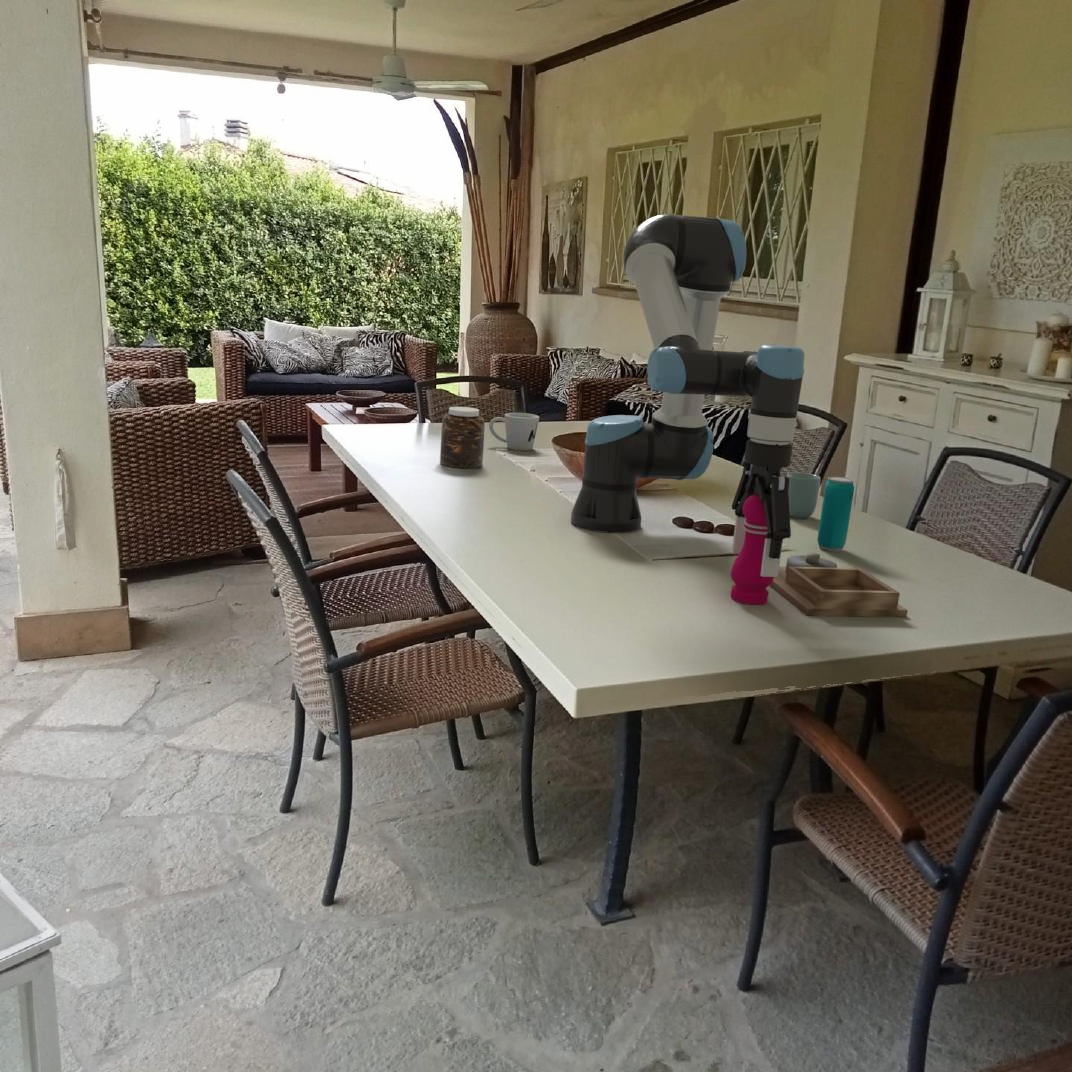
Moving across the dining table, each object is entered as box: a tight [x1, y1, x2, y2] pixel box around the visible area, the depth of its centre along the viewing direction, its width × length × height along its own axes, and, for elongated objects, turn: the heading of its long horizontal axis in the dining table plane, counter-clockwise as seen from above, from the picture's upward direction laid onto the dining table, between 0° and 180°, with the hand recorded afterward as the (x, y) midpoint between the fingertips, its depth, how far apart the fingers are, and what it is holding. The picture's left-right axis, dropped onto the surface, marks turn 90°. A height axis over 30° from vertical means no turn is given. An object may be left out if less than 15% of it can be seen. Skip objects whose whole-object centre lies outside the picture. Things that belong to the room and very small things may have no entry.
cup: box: [786, 471, 822, 520], centre depth 235 cm, size 8×8×10 cm
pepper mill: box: [730, 494, 774, 606], centre depth 169 cm, size 7×7×20 cm
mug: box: [488, 412, 540, 451], centre depth 298 cm, size 10×15×10 cm
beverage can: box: [816, 475, 855, 553], centre depth 207 cm, size 6×6×15 cm
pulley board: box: [769, 552, 908, 618], centre depth 177 cm, size 18×24×5 cm
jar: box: [439, 406, 485, 469], centre depth 267 cm, size 12×12×15 cm
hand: (753, 564), depth 169 cm, fingers open, 13 cm apart
